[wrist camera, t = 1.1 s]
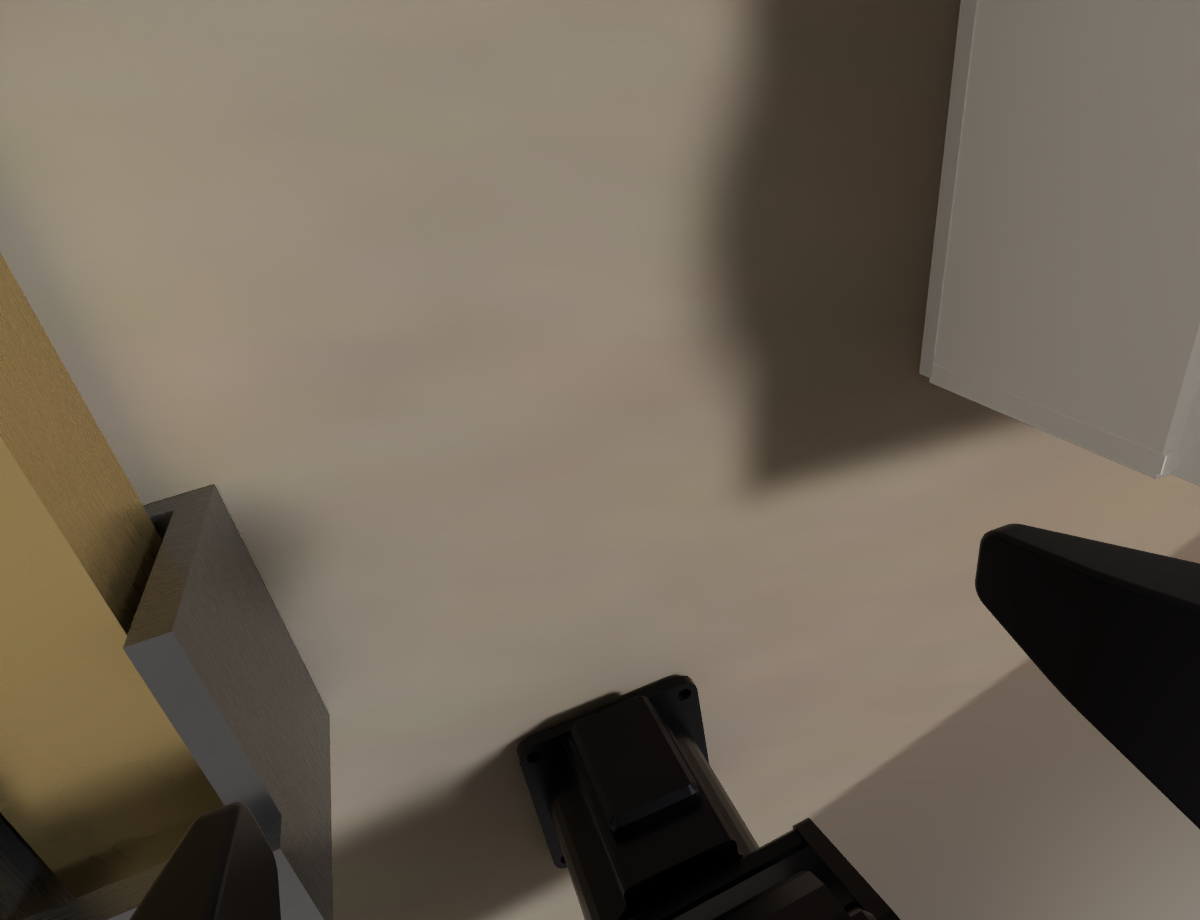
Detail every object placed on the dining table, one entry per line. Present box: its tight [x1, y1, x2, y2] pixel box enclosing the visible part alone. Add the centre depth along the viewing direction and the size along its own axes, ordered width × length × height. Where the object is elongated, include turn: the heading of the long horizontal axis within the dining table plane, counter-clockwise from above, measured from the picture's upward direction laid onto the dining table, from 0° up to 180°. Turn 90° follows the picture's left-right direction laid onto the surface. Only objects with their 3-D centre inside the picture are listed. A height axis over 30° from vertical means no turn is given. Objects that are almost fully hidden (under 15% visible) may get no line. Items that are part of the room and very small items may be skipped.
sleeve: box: [0, 484, 333, 920], centre depth 16 cm, size 8×6×7 cm
